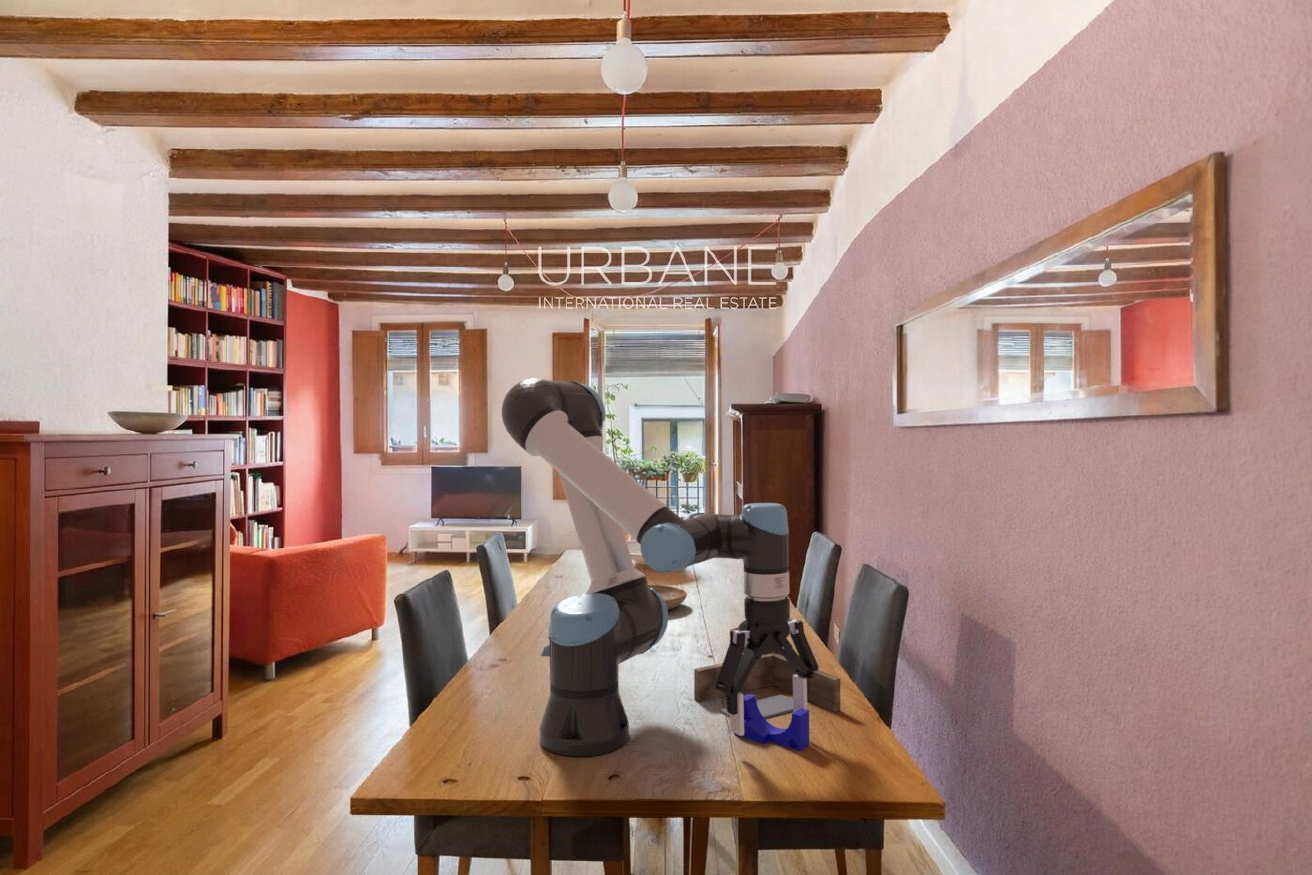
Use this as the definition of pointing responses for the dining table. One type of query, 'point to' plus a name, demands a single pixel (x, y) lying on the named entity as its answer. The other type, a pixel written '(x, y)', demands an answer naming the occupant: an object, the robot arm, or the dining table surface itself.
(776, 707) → the grey mat
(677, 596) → the ceramic bowl
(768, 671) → the corner walls
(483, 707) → the dining table surface
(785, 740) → the blue curved block
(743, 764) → the dining table surface
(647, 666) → the dining table surface
